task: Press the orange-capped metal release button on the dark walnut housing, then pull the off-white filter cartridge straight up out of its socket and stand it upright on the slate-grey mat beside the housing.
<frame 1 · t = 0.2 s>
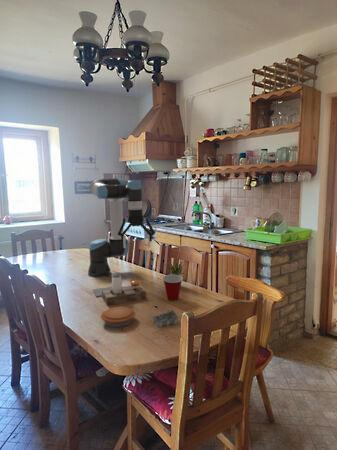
hand: (137, 247, 175), 27 cm above the table, tool pointing down, fingers open, 13 cm apart
cartridge: (117, 299, 171), resting in housing
pie: (118, 321, 144), on the table
release button: (135, 286, 174), point 6 cm above the table, slide at 0.0 cm
mat: (105, 292, 183), on the table
house plant: (178, 286, 189), on the table
plastic cup: (173, 299, 170), on the table
egg carton: (165, 323, 142), on the table
housing: (126, 297, 173), on the table
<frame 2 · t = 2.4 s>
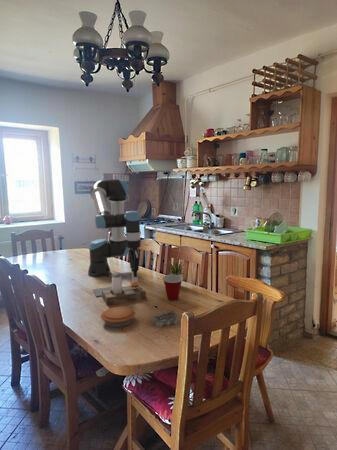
hand: (135, 282, 174), 8 cm above the table, tool pointing down, fingers closed
release button: (135, 287, 174), point 5 cm above the table, slide at 0.7 cm, touching gripper
everything else where it was.
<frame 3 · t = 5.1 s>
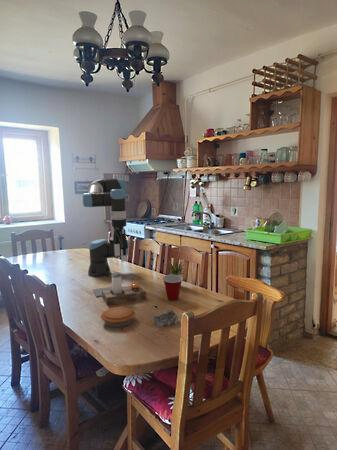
hand: (120, 258, 169), 22 cm above the table, tool pointing down, fingers open, 13 cm apart
release button: (135, 289, 174), point 4 cm above the table, slide at 1.8 cm
everything else where it was.
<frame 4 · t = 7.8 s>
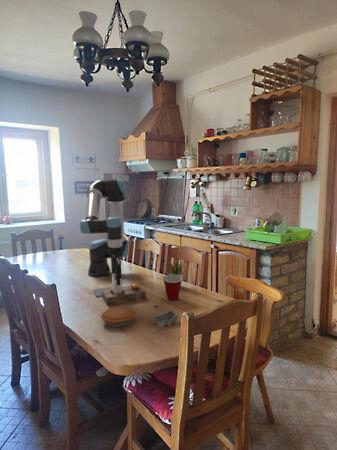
hand: (117, 288, 170), 6 cm above the table, tool pointing down, fingers closed on cartridge, 5 cm apart
cartridge: (117, 299, 171), resting in housing, touching gripper
everything else where it was.
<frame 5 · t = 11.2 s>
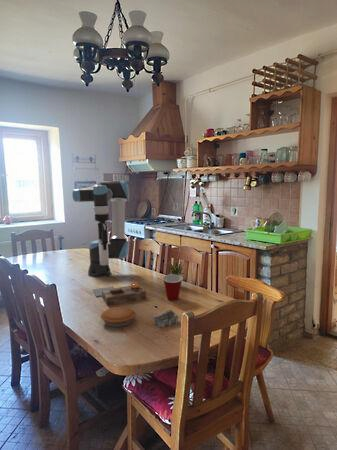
hand: (103, 254, 179), 22 cm above the table, tool pointing down, fingers closed on cartridge, 5 cm apart
cartridge: (104, 264, 180), point 17 cm above the table, touching gripper
everything else where it was.
when the fingers open (8 cm above the table, at t = 14.5 s): cartridge drops 1 cm, resting on mat.
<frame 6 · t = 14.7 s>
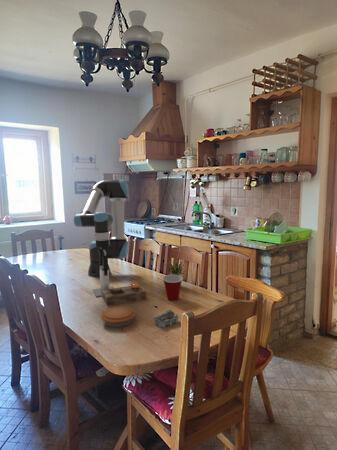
hand: (104, 278, 181), 8 cm above the table, tool pointing down, fingers open, 8 cm apart
cartridge: (104, 290, 183), point 1 cm above the table, touching mat
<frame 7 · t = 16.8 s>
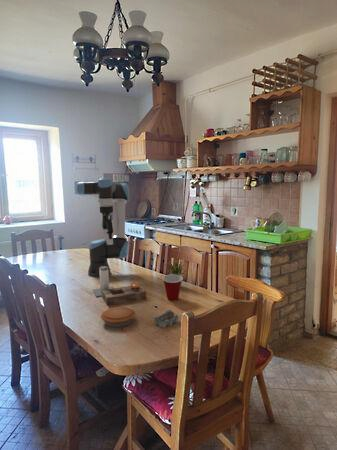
hand: (108, 242, 184), 28 cm above the table, tool pointing down, fingers open, 13 cm apart
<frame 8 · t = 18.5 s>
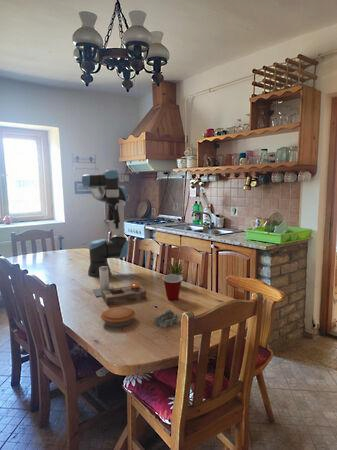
hand: (114, 232, 190), 33 cm above the table, tool pointing down, fingers open, 13 cm apart
at the end: release button slide at 1.8 cm; cartridge inside the target area (0.1 cm from its centre), point 0.6 cm above the table; cartridge tilted 1° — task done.
